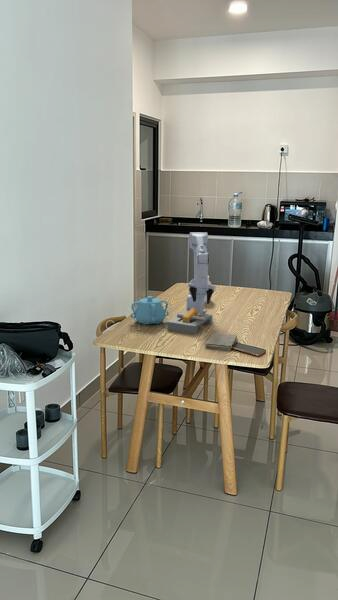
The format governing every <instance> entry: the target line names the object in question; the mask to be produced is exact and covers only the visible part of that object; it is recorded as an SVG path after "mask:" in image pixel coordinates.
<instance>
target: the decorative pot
mask: <svg viewBox="0 0 338 600" xmlns="http://www.w3.org/2000/svg"><path fill="white" fill-rule="evenodd" d="M163 303H165V307H164V306H163ZM135 305H136V306H135ZM134 306H135V309H134ZM168 306H169V303H168V301H167V300H165V299H164V300H163V299H161V300H160V299H159V298H155V297H154V296H152V295H147V296H146V297H145V298H141V299H140V298H139V299H138V301H134V302H132V304H131V306H130V307H131V310H132V313H131V314H130V317H131V319H135V320H136V321H137V322H138V324H139V323H140V324H142V326H143V325H144V326H148V325H149V324H151V325H153V324H154V325H160V324H161V323H162V322H164V320H165V319H166V317H168V316H169V314H170V313H169V311H167V310H168Z"/></svg>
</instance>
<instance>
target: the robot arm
mask: <svg viewBox="0 0 338 600" xmlns="http://www.w3.org/2000/svg"><path fill="white" fill-rule="evenodd" d="M208 241H209V235H208V232H206V231H205V232H199V231H198V232H194V231H193V232H191V231H190V232H189V248H190V249H191V250H192V251H193V279H191V280H190V281H189V282H188V284H187V288H188V294H189V295H187V297H186V309H185V311H189V310H191V309H192V308H196V309H198V313H203V314H205V312H207V309H205V302H204V297H205V296H206V295H207V302H206V304H210V302H211V301H210V299H211V300H212V296H213V294H214V292H215V291H216V290H217V289H216V288H217V286H216V285H212V284H211V285H207V283H208V276H209V264H210V262H211V261H210V253H209V252H208V250H207V246H208ZM207 289H208V290H207Z"/></svg>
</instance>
